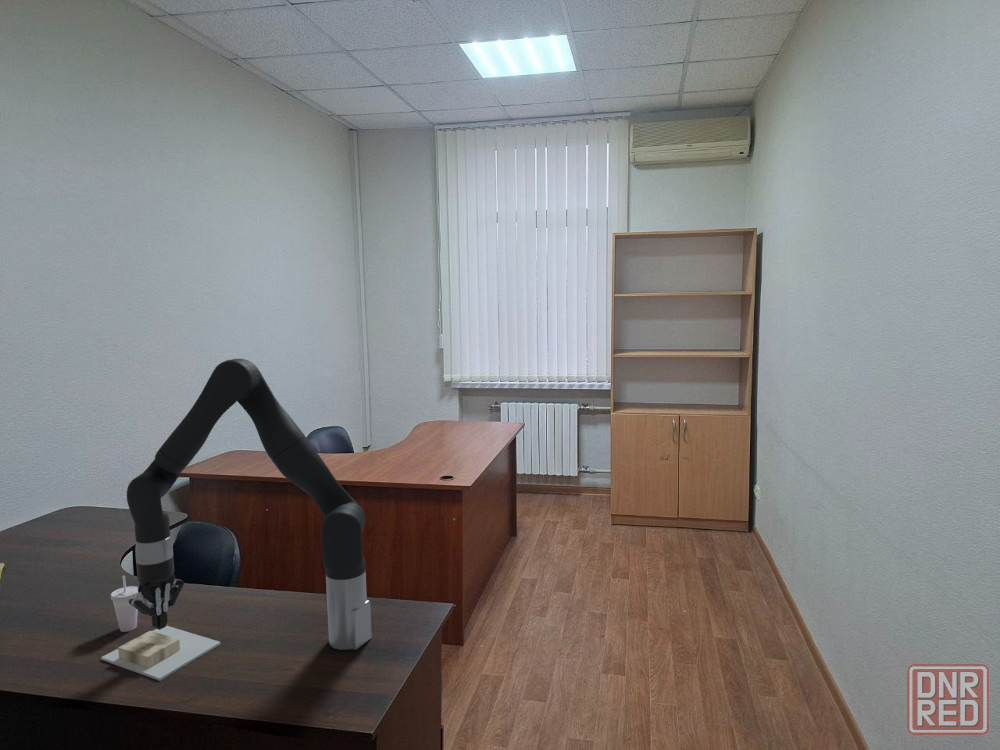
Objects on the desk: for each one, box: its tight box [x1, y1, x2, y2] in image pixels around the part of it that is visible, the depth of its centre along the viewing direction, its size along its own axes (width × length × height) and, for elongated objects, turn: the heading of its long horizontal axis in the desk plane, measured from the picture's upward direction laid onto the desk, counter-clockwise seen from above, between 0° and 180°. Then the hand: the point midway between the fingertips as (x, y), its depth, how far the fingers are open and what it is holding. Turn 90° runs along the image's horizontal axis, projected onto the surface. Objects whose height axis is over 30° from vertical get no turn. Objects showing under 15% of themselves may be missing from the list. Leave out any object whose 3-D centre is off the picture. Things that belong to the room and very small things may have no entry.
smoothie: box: [110, 574, 139, 633], centre depth 158 cm, size 6×6×14 cm
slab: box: [117, 630, 180, 668], centre depth 145 cm, size 10×3×8 cm
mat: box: [100, 625, 222, 682], centre depth 147 cm, size 20×16×1 cm
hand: (160, 627), depth 147 cm, fingers closed
